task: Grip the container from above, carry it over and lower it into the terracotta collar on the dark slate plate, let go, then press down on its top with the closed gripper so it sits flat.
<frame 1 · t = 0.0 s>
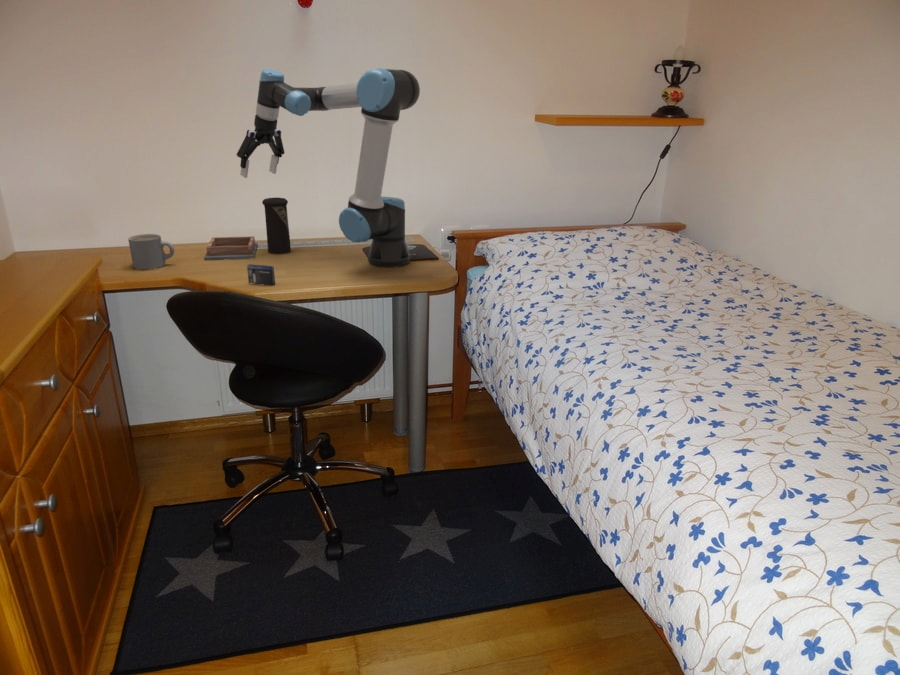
hand: (258, 174, 225), 28 cm above the table, tool tilted 20°, fingers open, 13 cm apart
collar plate: (232, 252, 230), on the table
coffee mug: (154, 266, 212), on the table
container: (279, 252, 233), on the table
mini dv tape: (262, 284, 196), on the table
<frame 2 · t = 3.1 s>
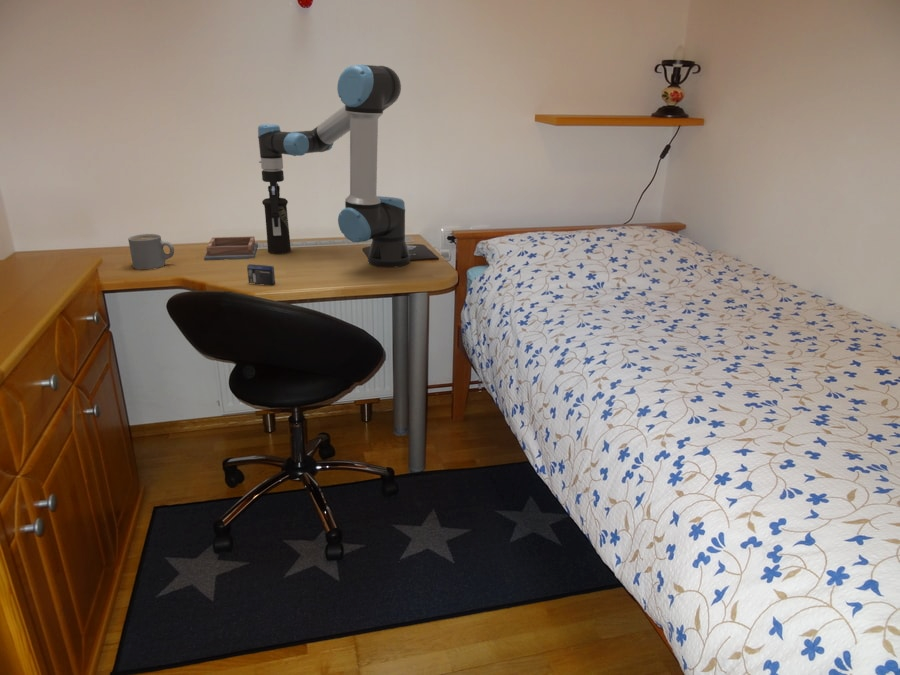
hand: (277, 232, 230), 7 cm above the table, tool pointing down, fingers closed on container, 8 cm apart
container: (279, 252, 233), on the table, touching gripper
everything else where it was.
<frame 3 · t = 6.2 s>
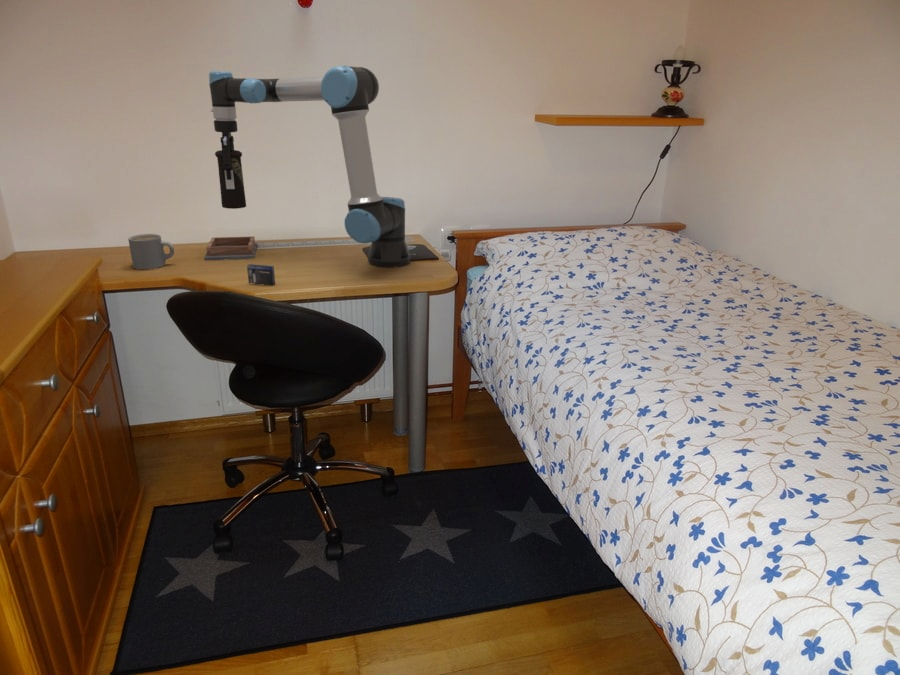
hand: (231, 186, 222), 24 cm above the table, tool pointing down, fingers closed on container, 8 cm apart
container: (234, 207, 224), point 17 cm above the table, touching gripper
everything else where it was.
when the fingers open (10 cm above the table, at t = 9.4 s): container drops 1 cm, resting on collar plate.
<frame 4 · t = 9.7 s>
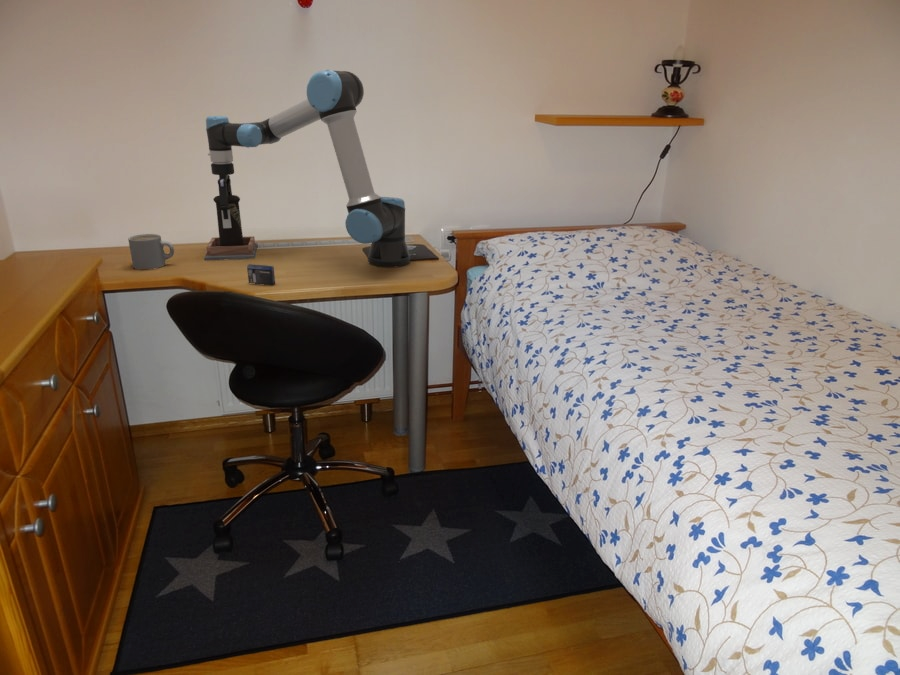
hand: (229, 224, 226), 10 cm above the table, tool pointing down, fingers open, 11 cm apart
container: (232, 250, 230), point 1 cm above the table, touching collar plate
everything else where it was.
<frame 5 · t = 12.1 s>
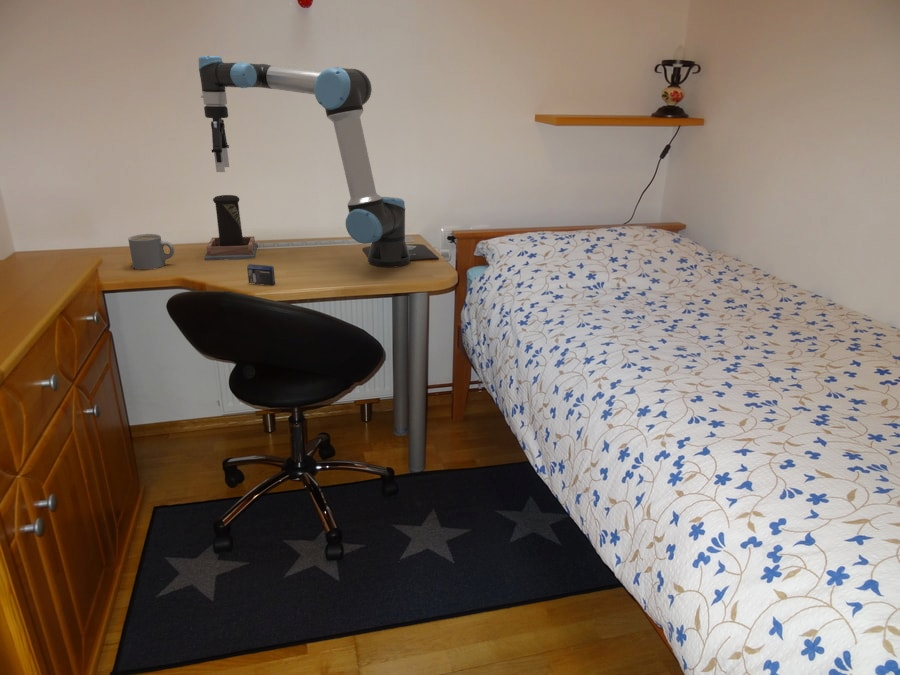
hand: (223, 169, 219), 30 cm above the table, tool pointing down, fingers open, 13 cm apart
nothing on the table moved.
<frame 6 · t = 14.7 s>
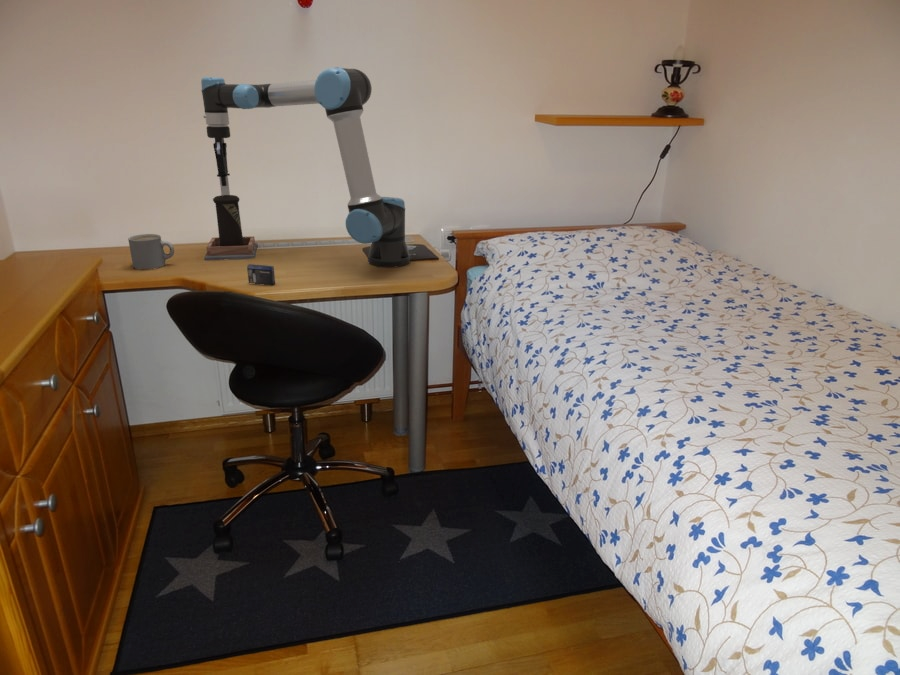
hand: (225, 194, 222), 21 cm above the table, tool pointing down, fingers closed
container: (232, 250, 230), point 1 cm above the table, touching collar plate, gripper
everything else where it was.
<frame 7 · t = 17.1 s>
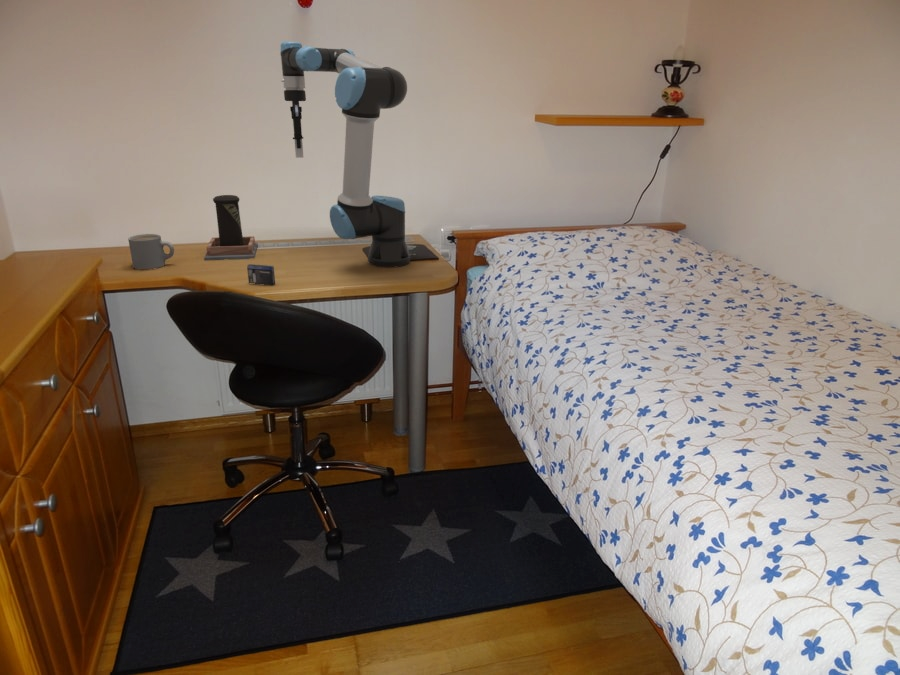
hand: (299, 157, 231), 33 cm above the table, tool pointing down, fingers closed
container: (232, 250, 230), point 1 cm above the table, touching collar plate
everything else where it was.
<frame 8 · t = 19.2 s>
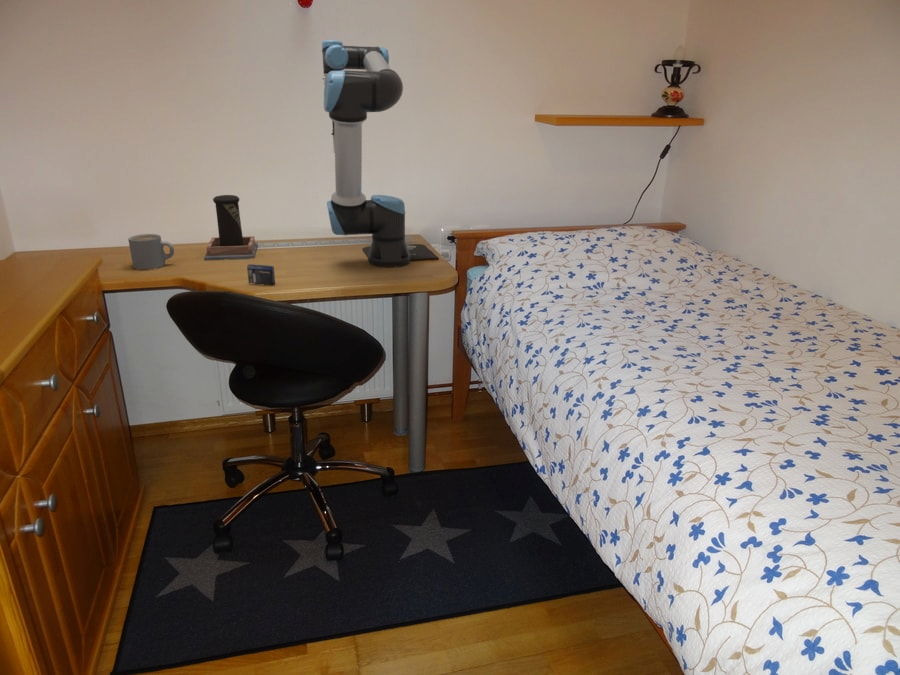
hand: (337, 152, 238), 34 cm above the table, tool pointing down, fingers closed
nothing on the table moved.
at the end: container 0.1 cm off-centre on the collar plate, point 0.8 cm above the collar plate's base; container tilted 0°; the gripper is holding nothing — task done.
